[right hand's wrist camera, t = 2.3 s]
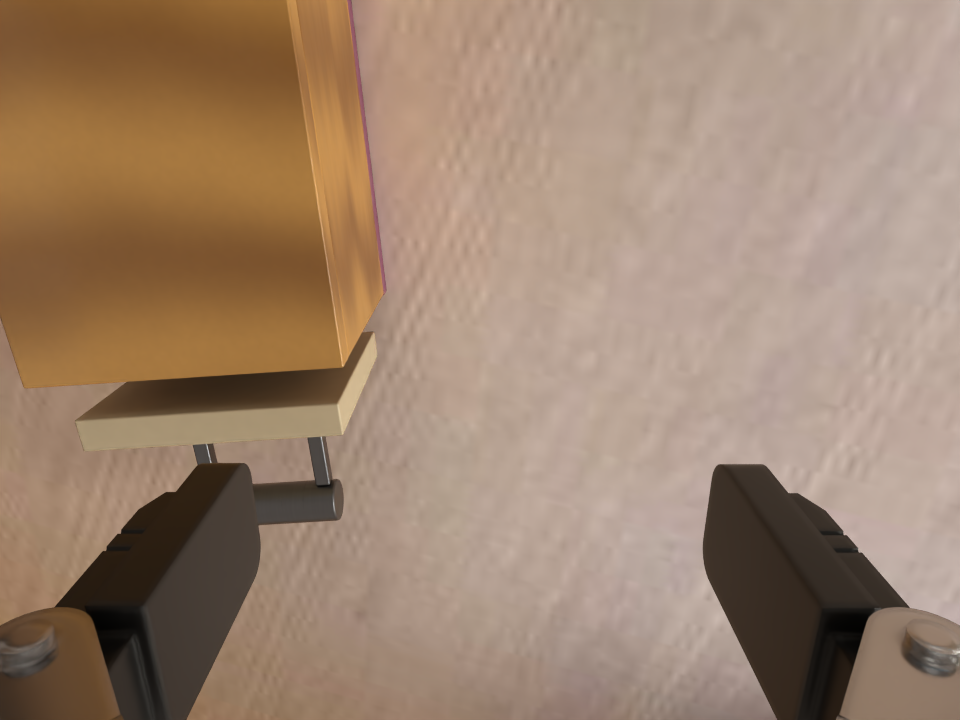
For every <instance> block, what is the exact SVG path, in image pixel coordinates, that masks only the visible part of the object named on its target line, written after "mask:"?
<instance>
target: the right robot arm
mask: <svg viewBox="0 0 960 720" xmlns="http://www.w3.org/2000/svg"><path fill="white" fill-rule="evenodd" d="M703 559H704V565H705V570H706V574H707V577H708V579H709V581H710V583H711V585H712V587H713V590H714V592H715V594H716V596H717V598H718V600H719V602H720V604H721V606H722V608H723V610H724V612H725V614H726V616H727V618H728V620H729V622H730V624H731V626H732V628H733V630H734V632H735V634H736V636H737V638H738V640H739V642H740V645H741V647H742V649H743V651H744V653H745V655H746V657H747V659H748V661H749V663H750V665H751V667H752V669H753V671H754V673H755V675H756V677H757V679H758V681H759V683H760V685H761V687H762V689H763V691H764V693H765V695H766V698H767V700H768V702H769V704H770V706H771V708H772V710H773V712H774V714H775V716H776V718H777V720H960V625H958V624H956V623H954V622H952V621H950V620H948V619H945V618H943V617H940V616H938V615H935V614H932V613H929V612H926V611H922V610H917V609H912V608H910V607H909V606H908V605H907V604H906V603H905V602H904V601H903V599H902V598H901V597H900V596H899V595H898V594H897V592H896V591H895V590H894V589H893V588H892V587H891V586H890V584H889V583H888V582H887V581H886V580H885V579H884V578H883V576H882V575H881V574H880V573H879V572H878V571H877V569H876V568H875V567H874V566H873V565H872V564H871V563H870V561H869V560H868V559H867V558H866V557H865V556H864V555H863V553H859V552H858V548H857V546H856V545H855V544H854V543H853V542H852V541H851V540H850V538H849V537H848V536H847V535H843V530H842V529H841V528H840V527H839V526H838V525H837V523H836V522H835V521H834V520H833V519H832V518H831V517H830V515H829V514H828V513H827V512H826V511H825V510H823V509H822V508H820V507H819V506H817V505H815V504H814V503H812V502H811V501H809V500H808V499H806V498H804V497H803V496H801V495H800V494H798V493H788V492H787V491H786V490H785V489H784V487H783V486H782V485H781V484H780V482H779V481H778V480H777V479H776V477H775V476H774V475H773V474H772V473H771V471H770V470H769V469H768V468H767V467H766V466H765V465H762V464H720V465H717V466H716V468H715V470H714V472H713V476H712V482H711V489H710V496H709V503H708V510H707V517H706V524H705V531H704V539H703ZM259 560H260V535H259V528H258V520H257V513H256V506H255V499H254V491H253V484H252V477H251V473H250V470H249V467H248V466H247V465H246V464H244V463H201V464H199V465H198V466H197V467H196V468H195V469H194V470H193V471H192V473H191V474H190V475H189V476H188V478H187V479H186V480H185V481H184V483H183V484H182V485H181V486H180V488H179V489H178V490H177V491H176V492H166V493H164V494H162V495H161V496H159V497H158V498H156V499H155V500H153V501H151V502H150V503H148V504H147V505H145V506H144V507H142V508H140V509H139V510H138V511H137V512H136V513H135V514H134V516H133V517H132V518H131V519H130V520H129V521H128V523H127V524H126V525H125V526H124V527H123V528H122V530H121V534H117V535H116V536H115V538H114V539H113V540H112V541H111V542H110V543H109V545H108V546H107V550H106V551H103V552H102V553H101V554H100V555H99V556H98V557H97V559H96V560H95V561H94V562H93V563H92V564H91V565H90V567H89V568H88V569H87V570H86V571H85V572H84V574H83V575H82V576H81V577H80V578H79V579H78V581H77V582H76V583H75V584H74V585H73V586H72V588H71V589H70V590H69V591H68V592H67V593H66V594H65V596H64V597H63V598H62V599H61V600H60V601H59V603H58V604H57V605H56V606H55V607H54V608H48V609H43V610H38V611H34V612H31V613H28V614H25V615H22V616H20V617H17V618H15V619H12V620H10V621H8V622H6V623H4V624H2V625H0V720H186V719H187V717H188V715H189V713H190V711H191V709H192V707H193V705H194V703H195V701H196V698H197V696H198V694H199V692H200V690H201V688H202V686H203V684H204V682H205V680H206V678H207V676H208V674H209V672H210V670H211V668H212V665H213V663H214V661H215V659H216V657H217V655H218V653H219V651H220V649H221V647H222V645H223V643H224V641H225V639H226V637H227V635H228V632H229V630H230V628H231V626H232V624H233V622H234V620H235V618H236V616H237V614H238V612H239V610H240V608H241V606H242V604H243V602H244V599H245V597H246V595H247V593H248V591H249V589H250V587H251V585H252V583H253V581H254V579H255V576H256V574H257V570H258V566H259Z"/></svg>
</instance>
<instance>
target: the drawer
mask: <svg viewBox="0 0 960 720" xmlns="http://www.w3.org/2000/svg"><path fill="white" fill-rule="evenodd" d="M376 358H377V350H376V342H375V335H374V332H362V333H361V335H360V337H359V339H358V341H357V343H356V344H355V346H354V348H353V350H352V352H351V353H350V355H349V357H348V360H347V361H346V363H345V365H344V367H342V368H327V369H312V370H297V371H282V372H267V373H252V374H236V375H221V376H206V377H191V378H176V379H161V380H145V381H130V382H126V383H125V384H124V385H122V386H121V387H120V388H118V389H117V390H116V391H114V392H113V393H112V394H110V395H109V396H107V397H106V398H105V399H103V400H102V401H101V402H99V403H98V404H97V405H95V406H94V407H93V408H91V409H90V410H89V411H87V412H86V413H85V414H83V415H82V416H81V417H79V418H78V419H77V420H75V424H76V427H77V430H78V434H79V437H80V440H81V443H82V447H83V450H84V451H85V452H86V451H102V450H117V449H133V448H149V447H165V446H181V445H193V448H194V452H195V456H196V460H197V464H198V465H199V464H201V463H217V459H216V454H215V450H214V446H213V443H228V442H244V441H259V440H275V439H291V438H308V443H309V449H310V454H311V460H312V466H313V471H314V477H315V480H312V481H296V482H280V483H264V484H253V491H254V499H255V506H256V513H257V520H258V525H269V524H286V523H302V522H319V521H336V520H339V519H340V518H341V516H342V512H343V504H344V498H343V488H342V485H341V482H340V480H338V479H332V473H331V467H330V461H329V455H328V449H327V443H326V437H325V436H338V435H343V434H344V431H345V429H346V427H347V424H348V422H349V420H350V417H351V415H352V413H353V411H354V408H355V406H356V404H357V401H358V399H359V397H360V394H361V392H362V390H363V388H364V385H365V383H366V381H367V378H368V376H369V374H370V371H371V369H372V367H373V365H374V362H375V360H376Z"/></svg>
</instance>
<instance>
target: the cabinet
mask: <svg viewBox="0 0 960 720" xmlns="http://www.w3.org/2000/svg"><path fill="white" fill-rule="evenodd" d="M385 292H386V283H385V275H384V267H383V258H382V250H381V242H380V234H379V226H378V217H377V209H376V201H375V193H374V185H373V176H372V168H371V160H370V152H369V144H368V136H367V127H366V119H365V111H364V103H363V95H362V86H361V78H360V70H359V62H358V54H357V45H356V37H355V29H354V21H353V13H352V4H351V0H0V318H1V321H2V324H3V327H4V330H5V333H6V336H7V339H8V342H9V345H10V348H11V351H12V354H13V357H14V360H15V363H16V366H17V369H18V372H19V375H20V378H21V381H22V384H23V387H24V388H39V387H54V386H70V385H85V384H100V383H115V382H130V381H145V380H161V379H176V378H191V377H206V376H221V375H236V374H252V373H267V372H282V371H297V370H312V369H327V368H342V367H344V365H345V363H346V361H347V360H348V357H349V355H350V353H351V352H352V350H353V348H354V346H355V344H356V343H357V341H358V339H359V337H360V335H361V333H362V332H363V330H364V328H365V326H366V324H367V323H368V321H369V319H370V317H371V315H372V314H373V312H374V310H375V308H376V306H377V305H378V303H379V301H380V299H381V297H382V295H384V294H385Z"/></svg>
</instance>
